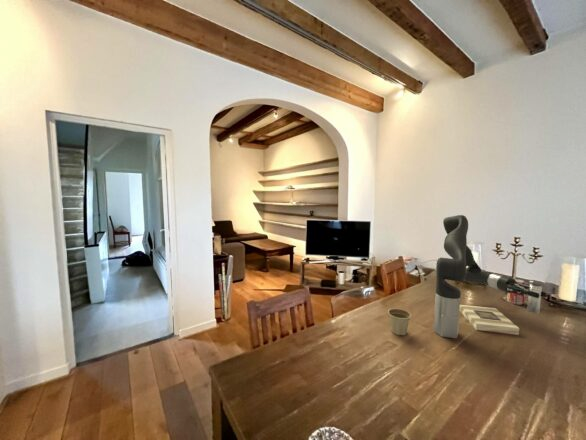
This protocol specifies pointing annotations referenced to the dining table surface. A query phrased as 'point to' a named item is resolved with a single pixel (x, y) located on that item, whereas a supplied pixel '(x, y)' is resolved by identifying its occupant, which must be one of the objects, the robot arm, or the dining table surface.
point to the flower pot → (399, 321)
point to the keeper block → (488, 319)
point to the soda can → (516, 295)
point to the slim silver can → (532, 301)
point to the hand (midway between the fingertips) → (542, 295)
